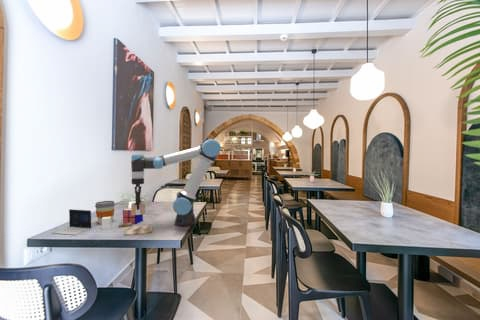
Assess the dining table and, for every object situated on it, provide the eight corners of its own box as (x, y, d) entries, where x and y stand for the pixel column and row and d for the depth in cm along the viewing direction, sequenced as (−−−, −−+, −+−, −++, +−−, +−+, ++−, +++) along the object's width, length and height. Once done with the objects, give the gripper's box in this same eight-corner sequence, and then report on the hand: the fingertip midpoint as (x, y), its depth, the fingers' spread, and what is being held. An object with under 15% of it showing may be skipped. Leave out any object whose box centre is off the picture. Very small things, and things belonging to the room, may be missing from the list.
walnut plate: (131, 224, 172) (131, 222, 172) (131, 226, 168) (131, 224, 168) (119, 226, 170) (119, 223, 169) (118, 228, 165) (118, 225, 165)
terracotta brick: (145, 212, 161) (144, 202, 161) (144, 214, 156) (144, 203, 156) (132, 213, 158) (131, 202, 158) (131, 215, 153) (131, 204, 153)
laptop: (52, 233, 154) (51, 213, 153) (70, 227, 166) (69, 209, 166) (75, 235, 150) (74, 215, 149) (91, 229, 162) (91, 210, 162)
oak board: (151, 226, 167) (151, 225, 167) (151, 232, 154) (151, 231, 154) (126, 229, 161) (126, 227, 161) (124, 236, 148) (124, 234, 148)
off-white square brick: (111, 226, 168) (111, 216, 168) (110, 228, 163) (110, 218, 163) (103, 227, 166) (103, 217, 166) (101, 229, 162) (101, 219, 161)
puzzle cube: (135, 224, 172) (134, 210, 172) (122, 223, 174) (122, 210, 174) (143, 220, 182) (142, 207, 182) (131, 220, 184) (130, 207, 184)
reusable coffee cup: (118, 220, 183) (118, 200, 183) (107, 225, 171) (107, 204, 170) (103, 219, 185) (102, 200, 184) (91, 224, 172) (91, 204, 172)
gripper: (132, 176, 163) (132, 210, 164) (130, 179, 147) (131, 217, 147) (144, 176, 166) (144, 209, 167) (143, 179, 149) (144, 216, 150)
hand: (138, 213), depth 157 cm, fingers closed on terracotta brick, 5 cm apart
